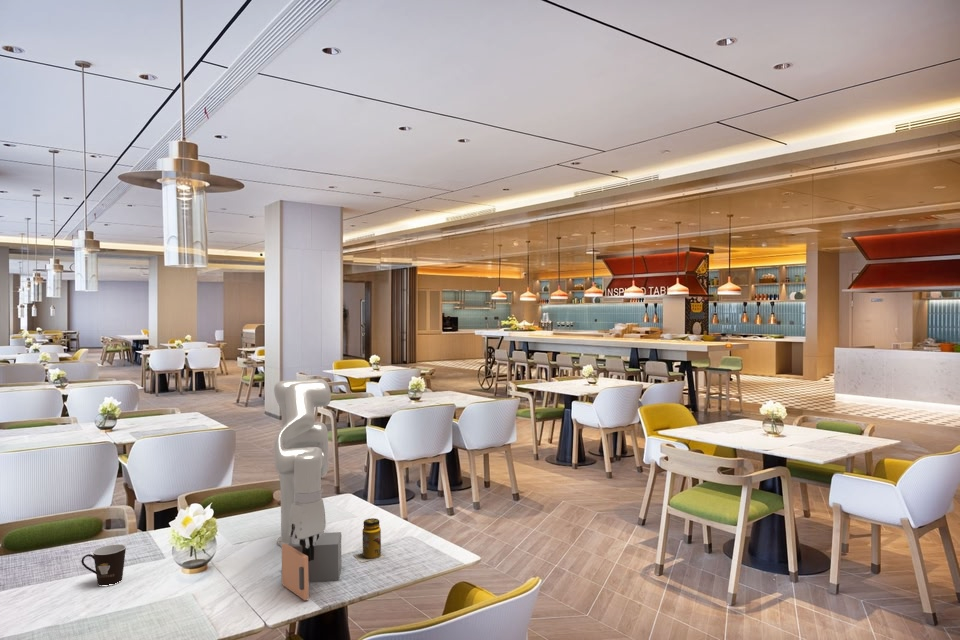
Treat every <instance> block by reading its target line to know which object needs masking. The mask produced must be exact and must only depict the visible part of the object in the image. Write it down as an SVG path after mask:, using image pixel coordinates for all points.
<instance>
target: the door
mask: <svg viewBox="0 0 960 640" xmlns="http://www.w3.org/2000/svg"><path fill="white" fill-rule="evenodd" d="M281 579H282V580H281V584H282V586H283V587H285V588H286V589H288V590H289V591H291V592H292V593H294V594H295V595H296V596H298V597H299V598H301V599H302V600H303V601H307V600H309V598H310V597H309V595H310V594H309V593H310V592H309V583H310V582H308V556H307V555H305V554H303V553H301V552H300V551H298V550H296V549H295V548H293V547H291V546H289V545H288V544H286V543H282V546H281Z"/></svg>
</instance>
